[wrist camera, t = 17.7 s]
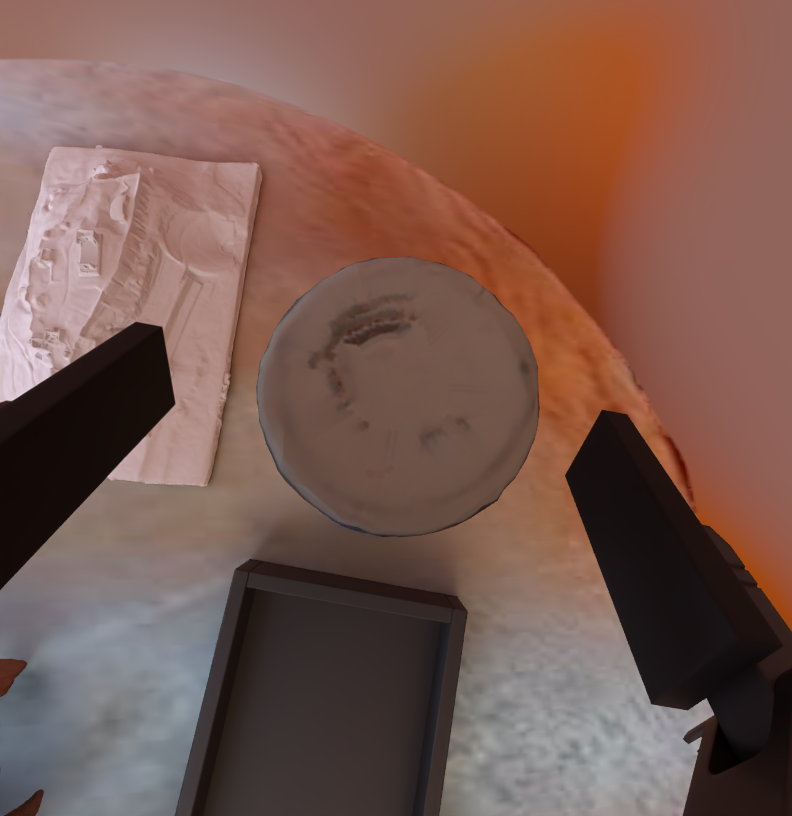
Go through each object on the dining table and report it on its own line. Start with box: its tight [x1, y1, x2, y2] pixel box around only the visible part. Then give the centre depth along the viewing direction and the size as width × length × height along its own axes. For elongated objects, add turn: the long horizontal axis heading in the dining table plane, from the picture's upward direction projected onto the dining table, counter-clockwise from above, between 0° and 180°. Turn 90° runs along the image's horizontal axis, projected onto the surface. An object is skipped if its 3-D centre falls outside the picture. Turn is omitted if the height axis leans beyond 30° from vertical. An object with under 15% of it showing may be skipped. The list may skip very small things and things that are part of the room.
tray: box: [175, 559, 467, 816], centre depth 21 cm, size 13×21×3 cm, turn 170°
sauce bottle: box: [257, 257, 539, 537], centre depth 15 cm, size 6×6×20 cm
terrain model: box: [0, 145, 263, 487], centre depth 24 cm, size 17×23×5 cm
